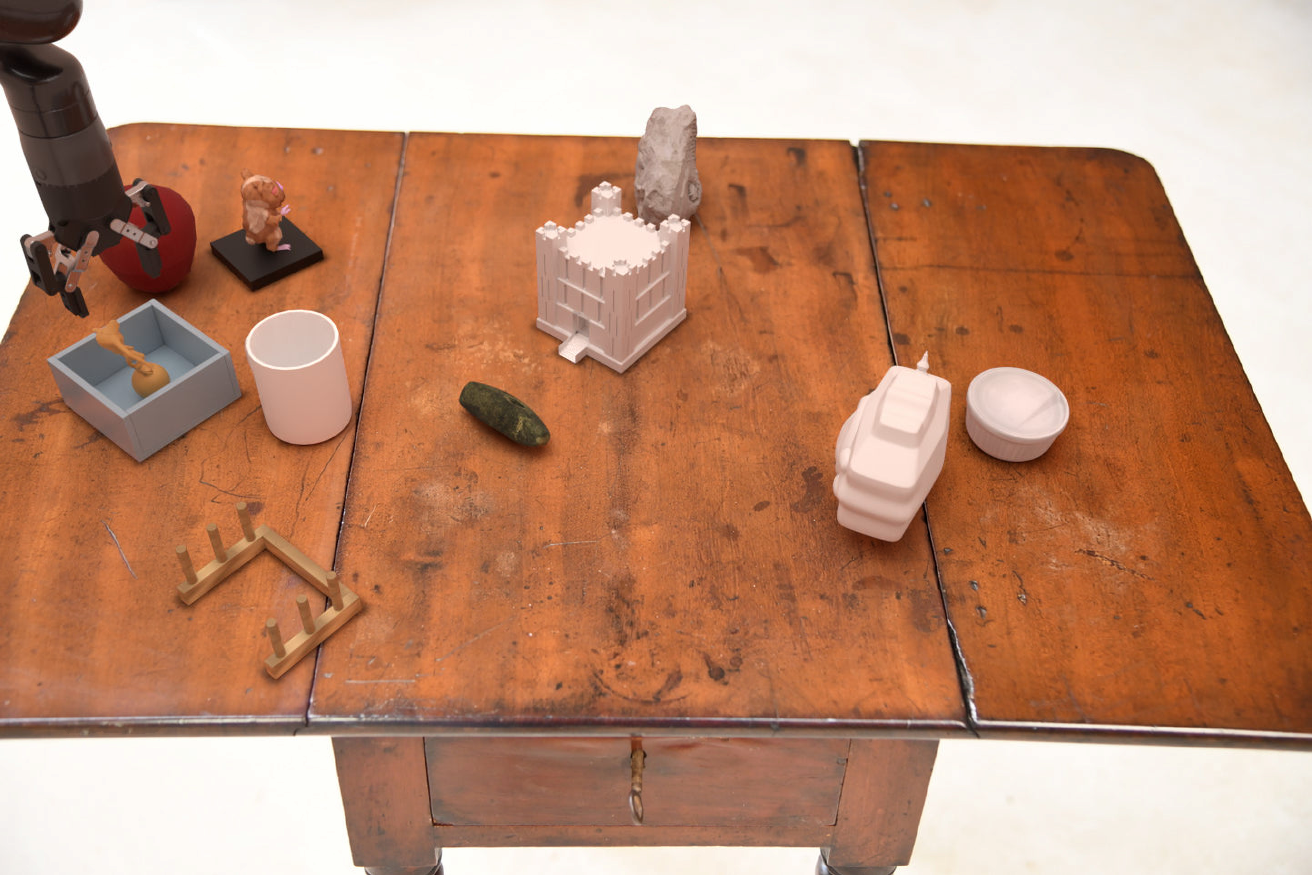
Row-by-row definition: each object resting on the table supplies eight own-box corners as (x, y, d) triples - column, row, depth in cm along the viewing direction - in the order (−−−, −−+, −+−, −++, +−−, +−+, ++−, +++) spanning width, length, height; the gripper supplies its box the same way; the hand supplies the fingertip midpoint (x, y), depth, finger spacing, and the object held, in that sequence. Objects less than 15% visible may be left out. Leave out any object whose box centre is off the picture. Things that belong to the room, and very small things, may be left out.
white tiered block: (947, 458, 140) (979, 352, 129) (906, 576, 129) (937, 471, 117) (852, 429, 143) (875, 322, 131) (803, 542, 131) (824, 435, 120)
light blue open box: (139, 463, 135) (122, 418, 130) (65, 404, 141) (46, 359, 136) (242, 396, 143) (229, 351, 138) (167, 342, 149) (153, 298, 144)
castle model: (685, 317, 155) (693, 222, 145) (610, 383, 147) (611, 286, 136) (603, 274, 160) (604, 179, 150) (525, 335, 152) (520, 239, 141)
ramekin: (1056, 479, 139) (1069, 446, 135) (954, 459, 140) (964, 426, 136) (1058, 409, 146) (1070, 376, 143) (961, 391, 148) (971, 358, 144)
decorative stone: (558, 412, 143) (558, 380, 139) (548, 462, 138) (547, 430, 134) (462, 403, 143) (458, 371, 140) (448, 452, 138) (444, 420, 134)
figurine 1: (193, 400, 141) (167, 319, 132) (148, 430, 138) (119, 349, 129) (146, 368, 144) (118, 286, 136) (101, 396, 141) (69, 314, 132)
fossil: (692, 247, 162) (706, 130, 154) (619, 237, 162) (630, 120, 155) (704, 209, 176) (717, 101, 169) (637, 200, 176) (647, 92, 169)
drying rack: (276, 679, 117) (261, 636, 112) (180, 599, 123) (163, 554, 118) (362, 609, 123) (352, 564, 118) (267, 535, 129) (254, 490, 124)
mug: (333, 455, 137) (316, 377, 129) (230, 434, 139) (207, 355, 130) (366, 396, 144) (352, 318, 135) (268, 377, 145) (248, 298, 137)
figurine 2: (324, 259, 160) (309, 179, 152) (253, 291, 155) (233, 211, 147) (282, 221, 165) (265, 143, 157) (212, 252, 160) (190, 172, 152)
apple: (216, 250, 161) (193, 161, 151) (200, 310, 153) (174, 220, 143) (119, 252, 160) (89, 162, 150) (98, 312, 152) (64, 222, 142)
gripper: (113, 115, 125) (153, 247, 136) (-21, 176, 117) (34, 311, 128) (160, 143, 122) (197, 276, 133) (25, 209, 114) (77, 344, 125)
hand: (117, 293), depth 131 cm, fingers open, 8 cm apart
